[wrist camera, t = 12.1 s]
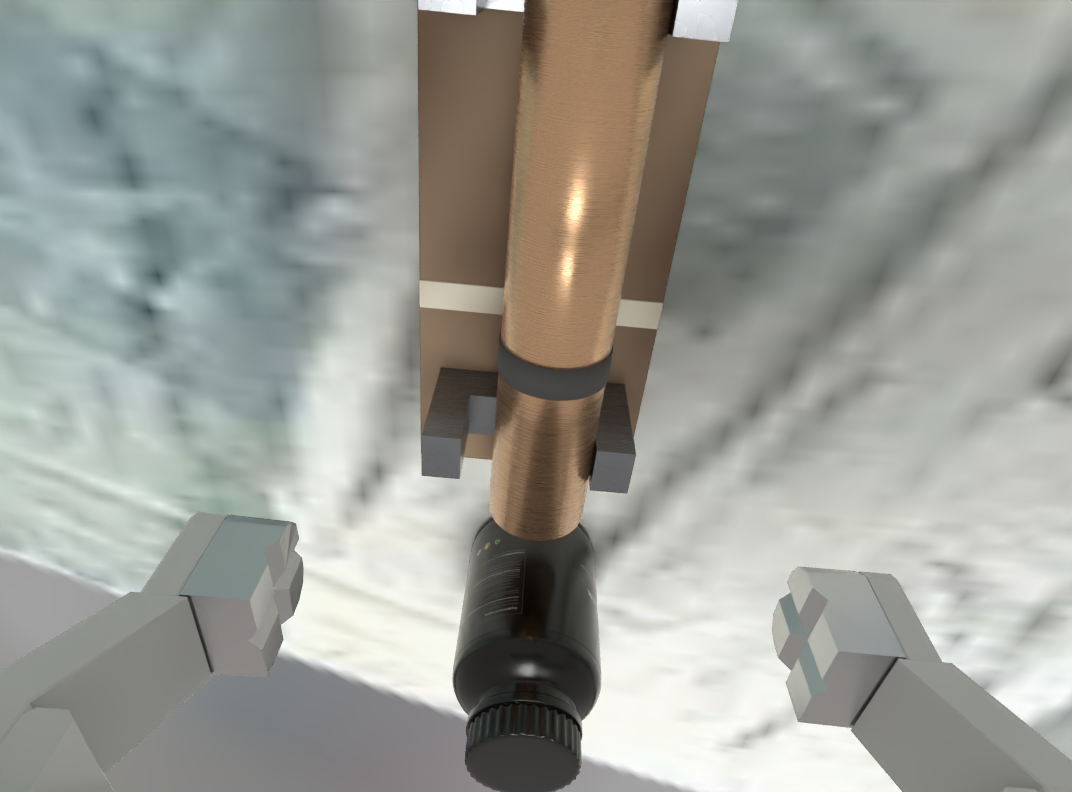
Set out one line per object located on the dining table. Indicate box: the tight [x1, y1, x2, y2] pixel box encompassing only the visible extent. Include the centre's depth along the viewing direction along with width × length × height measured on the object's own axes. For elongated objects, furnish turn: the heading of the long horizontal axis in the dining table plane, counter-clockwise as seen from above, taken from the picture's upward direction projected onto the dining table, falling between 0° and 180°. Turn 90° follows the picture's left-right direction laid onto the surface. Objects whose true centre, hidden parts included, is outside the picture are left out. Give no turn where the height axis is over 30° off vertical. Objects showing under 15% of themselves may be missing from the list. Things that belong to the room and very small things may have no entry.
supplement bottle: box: [453, 520, 601, 792], centre depth 32 cm, size 7×7×12 cm
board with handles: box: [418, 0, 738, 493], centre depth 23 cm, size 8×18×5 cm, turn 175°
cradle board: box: [418, 8, 720, 460], centre depth 26 cm, size 10×24×1 cm, turn 175°
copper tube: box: [489, 0, 674, 541], centre depth 22 cm, size 22×4×4 cm, turn 175°
